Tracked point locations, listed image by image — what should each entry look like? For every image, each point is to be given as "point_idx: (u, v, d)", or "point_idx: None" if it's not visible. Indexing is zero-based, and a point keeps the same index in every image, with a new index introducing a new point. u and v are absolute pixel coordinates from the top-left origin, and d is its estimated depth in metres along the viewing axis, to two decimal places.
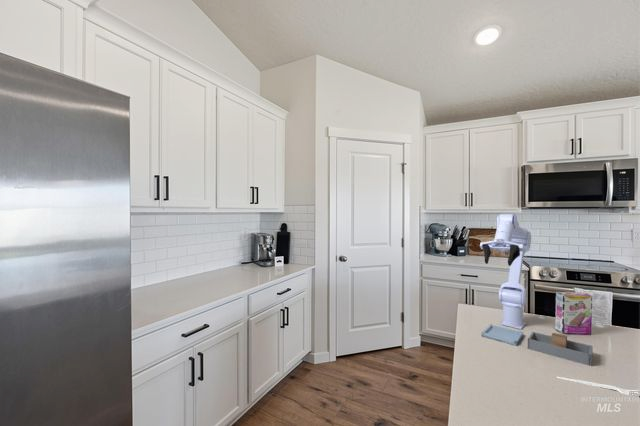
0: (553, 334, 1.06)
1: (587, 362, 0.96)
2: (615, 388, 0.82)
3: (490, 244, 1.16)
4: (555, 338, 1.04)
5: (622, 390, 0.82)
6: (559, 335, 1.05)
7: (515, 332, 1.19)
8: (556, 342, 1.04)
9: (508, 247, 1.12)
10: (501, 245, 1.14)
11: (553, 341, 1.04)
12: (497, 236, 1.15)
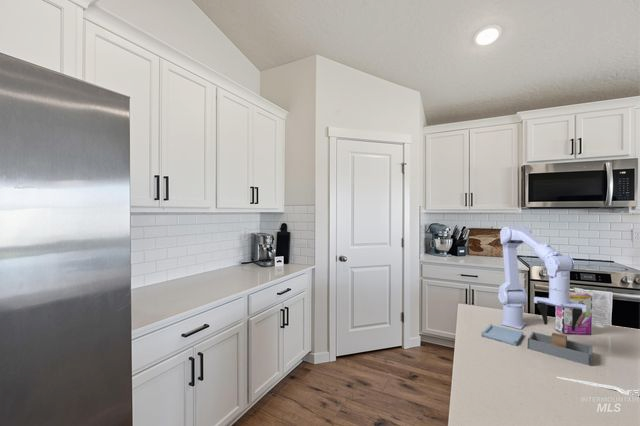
0: (553, 334, 1.06)
1: (587, 362, 0.96)
2: (615, 388, 0.82)
3: None
4: (555, 338, 1.04)
5: (622, 390, 0.82)
6: (559, 335, 1.05)
7: (515, 332, 1.19)
8: (556, 342, 1.04)
9: (568, 307, 1.02)
10: None
11: (553, 341, 1.04)
12: (553, 296, 1.04)
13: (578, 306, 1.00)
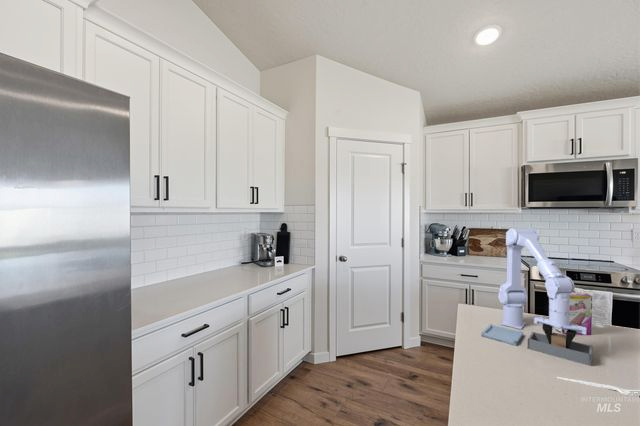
0: (553, 334, 1.06)
1: (587, 362, 0.96)
2: (615, 388, 0.82)
3: None
4: (555, 338, 1.04)
5: (622, 390, 0.82)
6: (559, 335, 1.05)
7: (515, 332, 1.19)
8: (556, 342, 1.04)
9: (568, 329, 1.02)
10: None
11: (553, 341, 1.04)
12: (553, 317, 1.04)
13: (578, 328, 1.00)
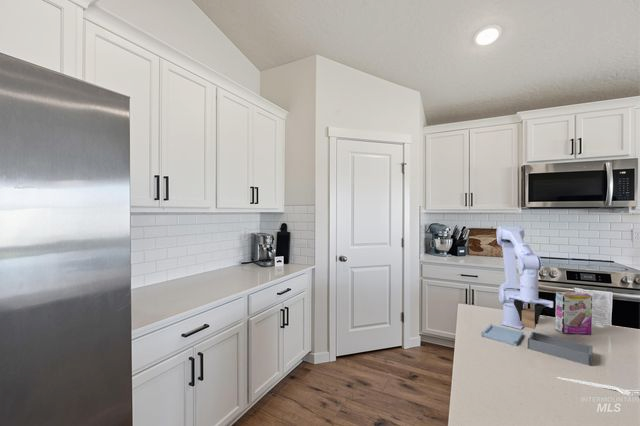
0: (523, 309, 1.12)
1: (587, 362, 0.96)
2: (615, 388, 0.82)
3: None
4: (525, 312, 1.11)
5: (622, 390, 0.82)
6: (529, 309, 1.12)
7: (515, 332, 1.19)
8: (526, 316, 1.10)
9: (537, 303, 1.09)
10: None
11: (523, 316, 1.11)
12: (523, 293, 1.10)
13: (545, 302, 1.07)
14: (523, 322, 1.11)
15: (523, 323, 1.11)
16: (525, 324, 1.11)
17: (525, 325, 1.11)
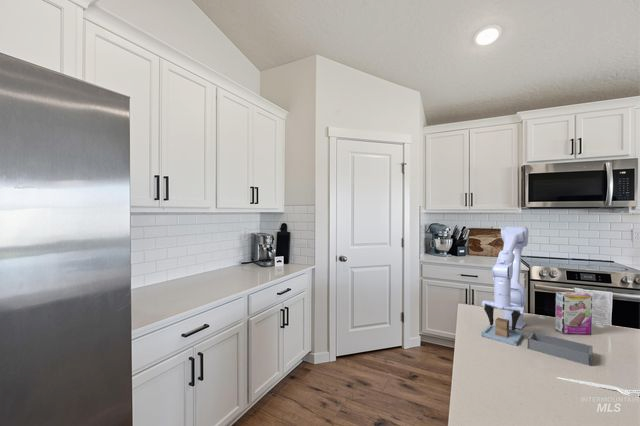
0: (497, 319, 1.19)
1: (587, 362, 0.96)
2: (615, 388, 0.82)
3: None
4: (498, 322, 1.17)
5: (622, 390, 0.82)
6: (502, 319, 1.18)
7: (515, 332, 1.19)
8: (499, 325, 1.17)
9: (509, 310, 1.16)
10: None
11: (496, 325, 1.18)
12: (497, 299, 1.17)
13: (517, 309, 1.13)
14: (496, 331, 1.18)
15: (496, 332, 1.18)
16: (498, 333, 1.17)
17: (498, 334, 1.17)
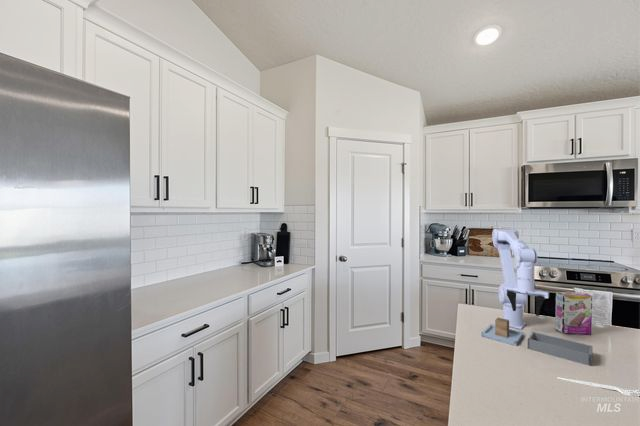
0: (497, 319, 1.19)
1: (587, 362, 0.96)
2: (615, 388, 0.82)
3: None
4: (498, 322, 1.17)
5: (622, 390, 0.82)
6: (502, 319, 1.18)
7: (515, 332, 1.19)
8: (499, 325, 1.17)
9: (533, 294, 1.14)
10: None
11: (496, 325, 1.18)
12: (520, 284, 1.15)
13: (541, 293, 1.11)
14: (496, 331, 1.18)
15: (496, 332, 1.18)
16: (498, 333, 1.17)
17: (498, 334, 1.17)
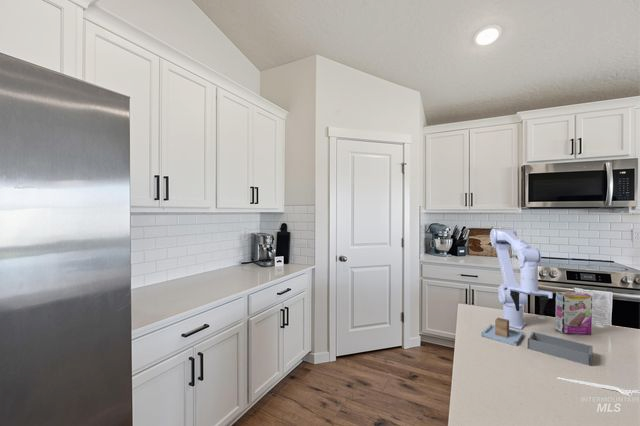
0: (497, 319, 1.19)
1: (587, 362, 0.96)
2: (616, 389, 0.82)
3: None
4: (498, 322, 1.17)
5: (623, 390, 0.82)
6: (502, 319, 1.18)
7: (515, 332, 1.19)
8: (499, 325, 1.17)
9: (537, 294, 1.13)
10: None
11: (496, 325, 1.18)
12: (523, 284, 1.15)
13: (545, 293, 1.11)
14: (496, 331, 1.18)
15: (496, 332, 1.18)
16: (498, 333, 1.17)
17: (498, 334, 1.17)
